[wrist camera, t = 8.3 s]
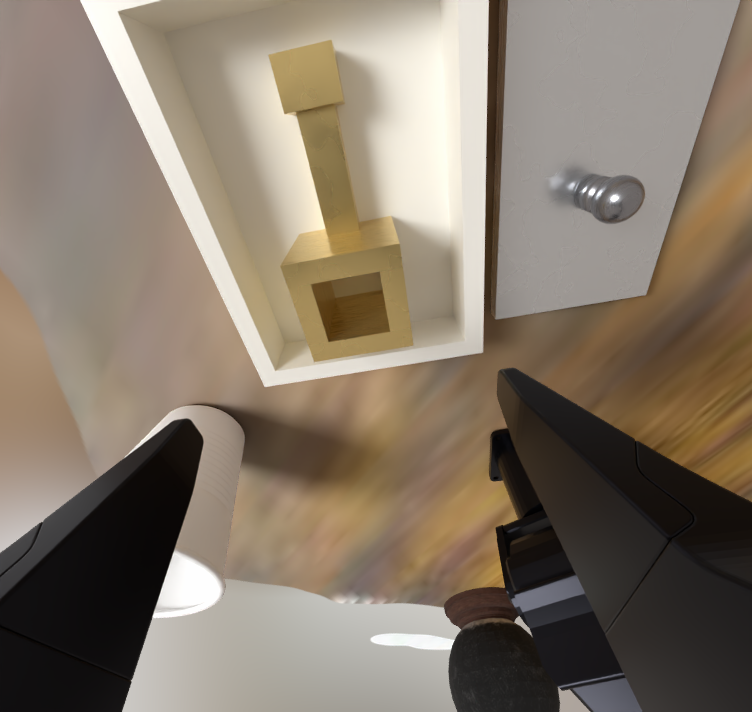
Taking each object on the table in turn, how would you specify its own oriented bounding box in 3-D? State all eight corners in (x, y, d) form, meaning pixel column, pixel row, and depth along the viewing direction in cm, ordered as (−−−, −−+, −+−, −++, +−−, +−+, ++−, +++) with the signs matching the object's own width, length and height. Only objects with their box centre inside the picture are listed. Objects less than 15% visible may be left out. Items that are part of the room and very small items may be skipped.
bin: (467, 322, 22) (483, 352, 19) (277, 354, 23) (264, 386, 20) (460, -75, 12) (490, -137, 9) (132, 6, 13) (67, -27, 10)
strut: (403, 301, 20) (413, 345, 16) (323, 315, 21) (314, 362, 17) (366, 42, 14) (367, 6, 9) (249, 70, 14) (202, 47, 10)
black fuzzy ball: (455, 581, 45) (491, 754, 32) (543, 587, 47) (608, 752, 34) (426, 617, 52) (445, 770, 40) (503, 621, 54) (544, 767, 42)
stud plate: (634, 288, 21) (687, 319, 17) (490, 312, 21) (514, 346, 18) (757, -127, 12) (915, -229, 8) (501, -65, 12) (552, -135, 9)
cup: (119, 380, 24) (-31, 537, 15) (261, 383, 24) (201, 536, 15) (161, 467, 29) (72, 620, 20) (276, 469, 30) (238, 617, 21)
